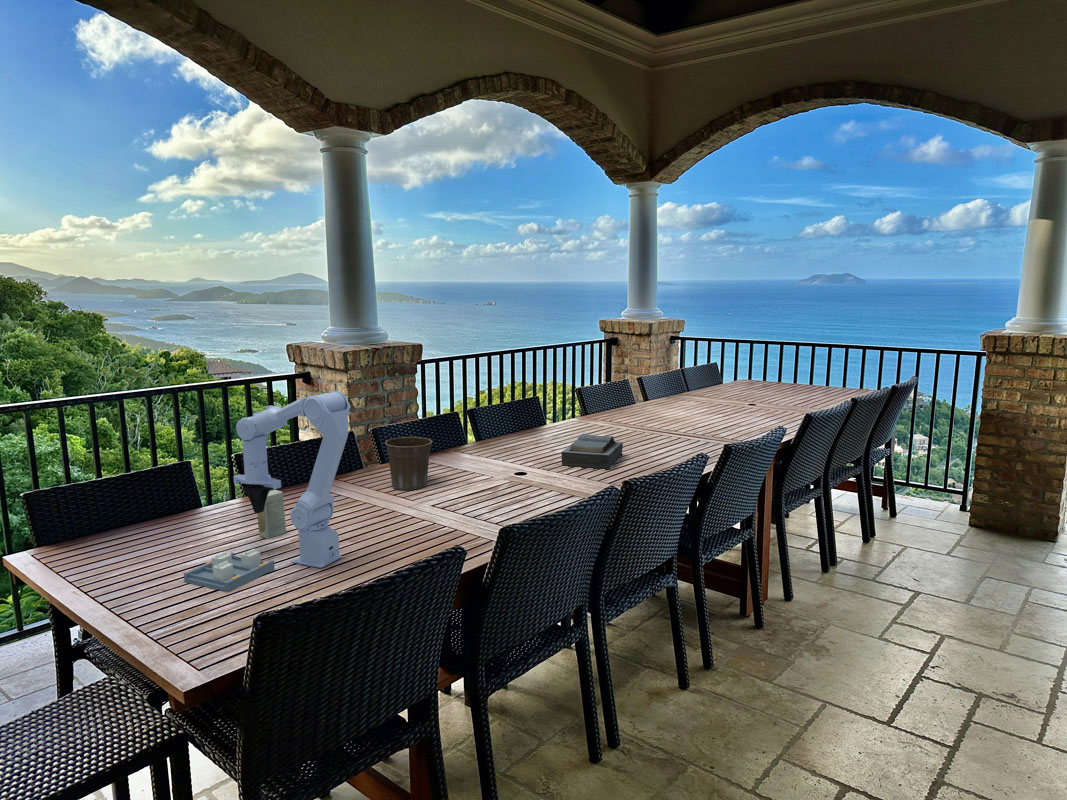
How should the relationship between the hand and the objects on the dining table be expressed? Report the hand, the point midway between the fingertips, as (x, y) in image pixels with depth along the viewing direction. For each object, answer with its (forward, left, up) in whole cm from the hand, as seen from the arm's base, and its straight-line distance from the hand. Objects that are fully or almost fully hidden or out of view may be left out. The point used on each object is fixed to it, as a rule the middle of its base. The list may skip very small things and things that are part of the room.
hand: (259, 511), depth 185 cm
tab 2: (-9, +20, -9) cm, 24 cm away
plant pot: (-2, -67, -11) cm, 68 cm away
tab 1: (-3, +16, -9) cm, 19 cm away
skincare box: (+6, -10, -11) cm, 16 cm away
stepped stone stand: (-49, -126, -11) cm, 136 cm away
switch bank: (-6, +16, -10) cm, 20 cm away
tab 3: (-9, +12, -9) cm, 17 cm away
